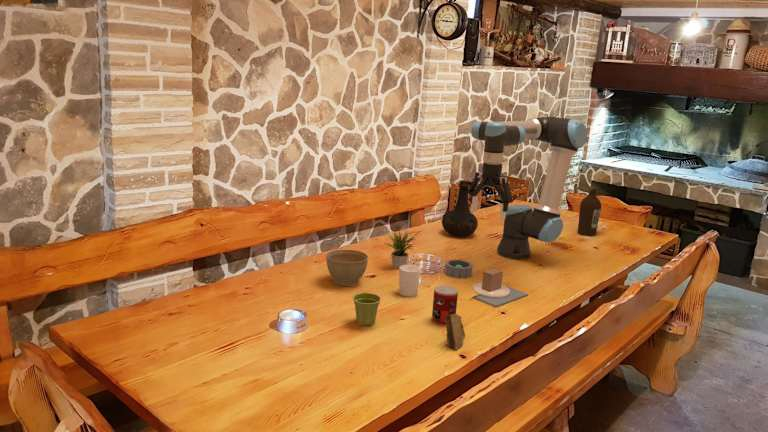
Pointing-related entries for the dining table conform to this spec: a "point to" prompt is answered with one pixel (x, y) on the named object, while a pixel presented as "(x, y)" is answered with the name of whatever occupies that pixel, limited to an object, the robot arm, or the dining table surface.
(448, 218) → the black vase
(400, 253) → the house plant
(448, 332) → the rock
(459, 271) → the bowl
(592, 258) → the dining table surface
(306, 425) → the dining table surface
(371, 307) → the plant pot
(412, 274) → the white cup
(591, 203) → the olive oil
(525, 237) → the robot arm
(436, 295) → the canned food
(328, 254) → the planter bowl
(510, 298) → the mat
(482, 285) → the lid
